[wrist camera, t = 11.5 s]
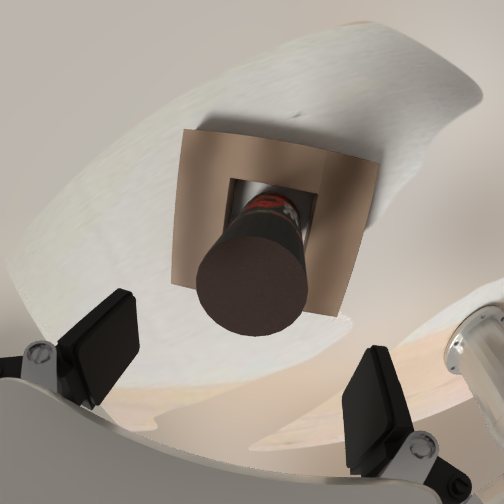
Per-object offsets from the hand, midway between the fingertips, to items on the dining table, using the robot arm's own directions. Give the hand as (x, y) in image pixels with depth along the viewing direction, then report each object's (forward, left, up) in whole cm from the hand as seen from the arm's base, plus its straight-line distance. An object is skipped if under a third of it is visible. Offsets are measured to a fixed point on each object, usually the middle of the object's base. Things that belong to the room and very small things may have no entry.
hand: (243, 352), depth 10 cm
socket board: (+1, 0, -20) cm, 20 cm away
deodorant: (0, 0, -20) cm, 20 cm away
